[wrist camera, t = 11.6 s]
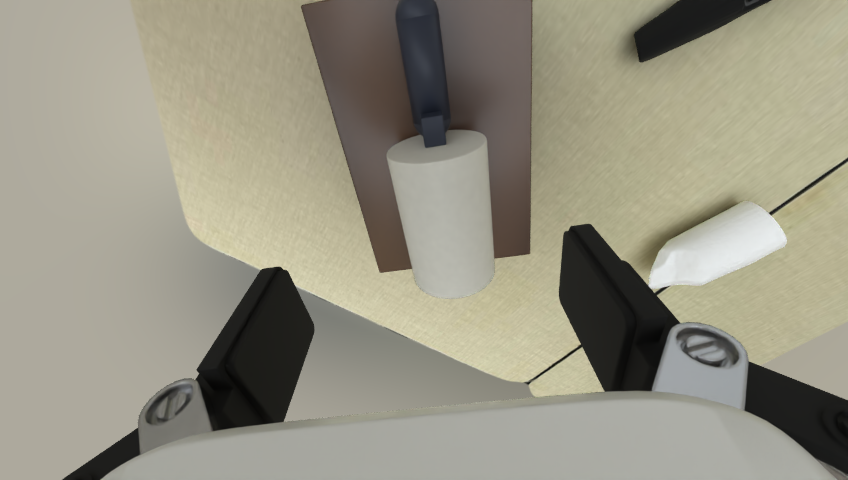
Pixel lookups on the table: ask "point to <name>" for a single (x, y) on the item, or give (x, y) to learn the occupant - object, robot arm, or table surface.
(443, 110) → the lint roller
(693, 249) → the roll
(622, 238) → the table surface
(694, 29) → the electric trimmer
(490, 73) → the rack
